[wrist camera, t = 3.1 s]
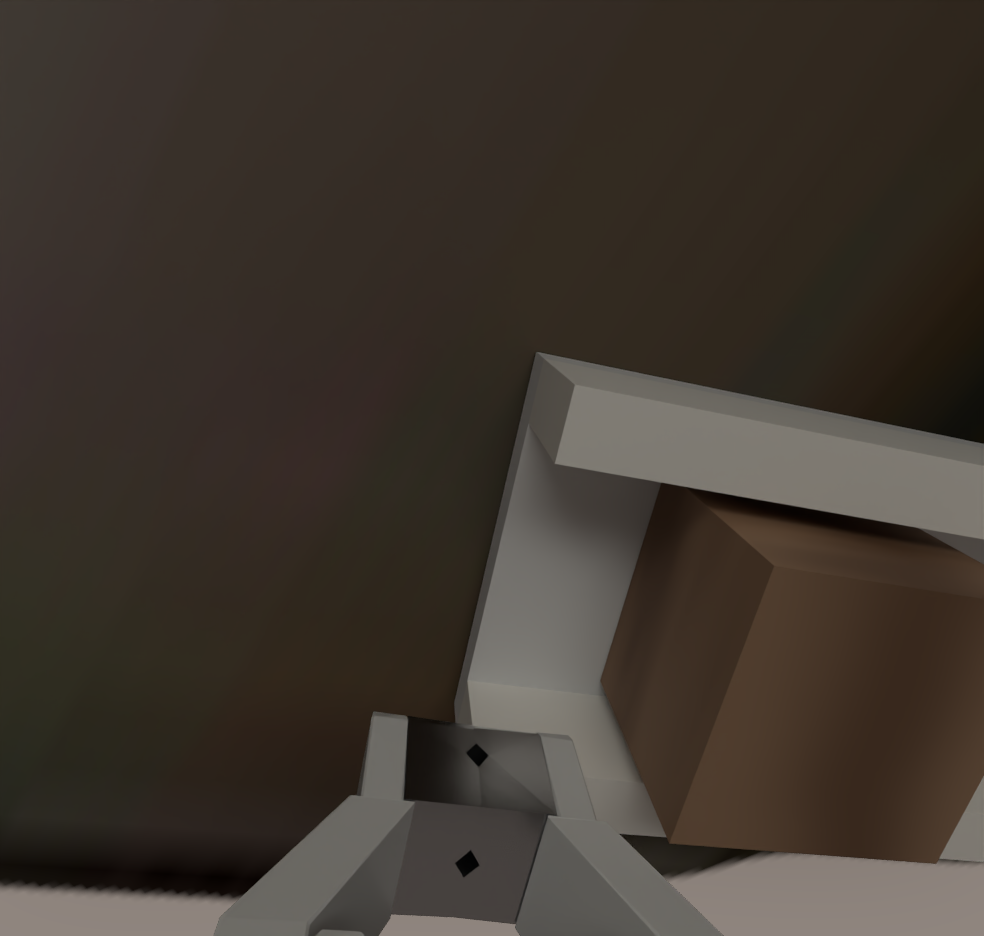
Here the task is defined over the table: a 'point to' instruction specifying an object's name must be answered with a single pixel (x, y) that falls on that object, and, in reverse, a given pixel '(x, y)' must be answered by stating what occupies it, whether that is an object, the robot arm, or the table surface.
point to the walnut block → (800, 679)
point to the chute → (623, 524)
